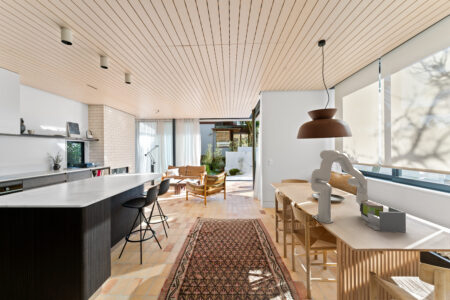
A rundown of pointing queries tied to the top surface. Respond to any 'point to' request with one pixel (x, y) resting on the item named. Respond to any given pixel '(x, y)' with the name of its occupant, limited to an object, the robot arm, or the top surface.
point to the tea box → (370, 209)
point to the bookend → (373, 222)
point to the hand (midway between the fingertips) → (362, 211)
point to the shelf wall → (392, 220)
